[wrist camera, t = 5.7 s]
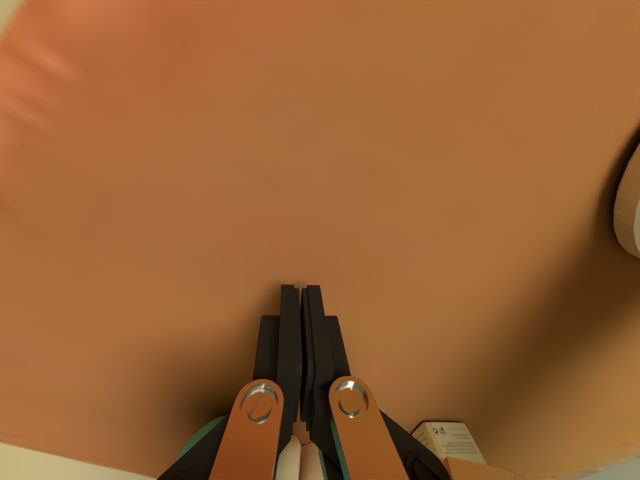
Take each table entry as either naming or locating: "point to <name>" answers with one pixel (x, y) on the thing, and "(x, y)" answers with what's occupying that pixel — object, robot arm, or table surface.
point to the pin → (310, 463)
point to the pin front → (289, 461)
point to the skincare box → (449, 440)
